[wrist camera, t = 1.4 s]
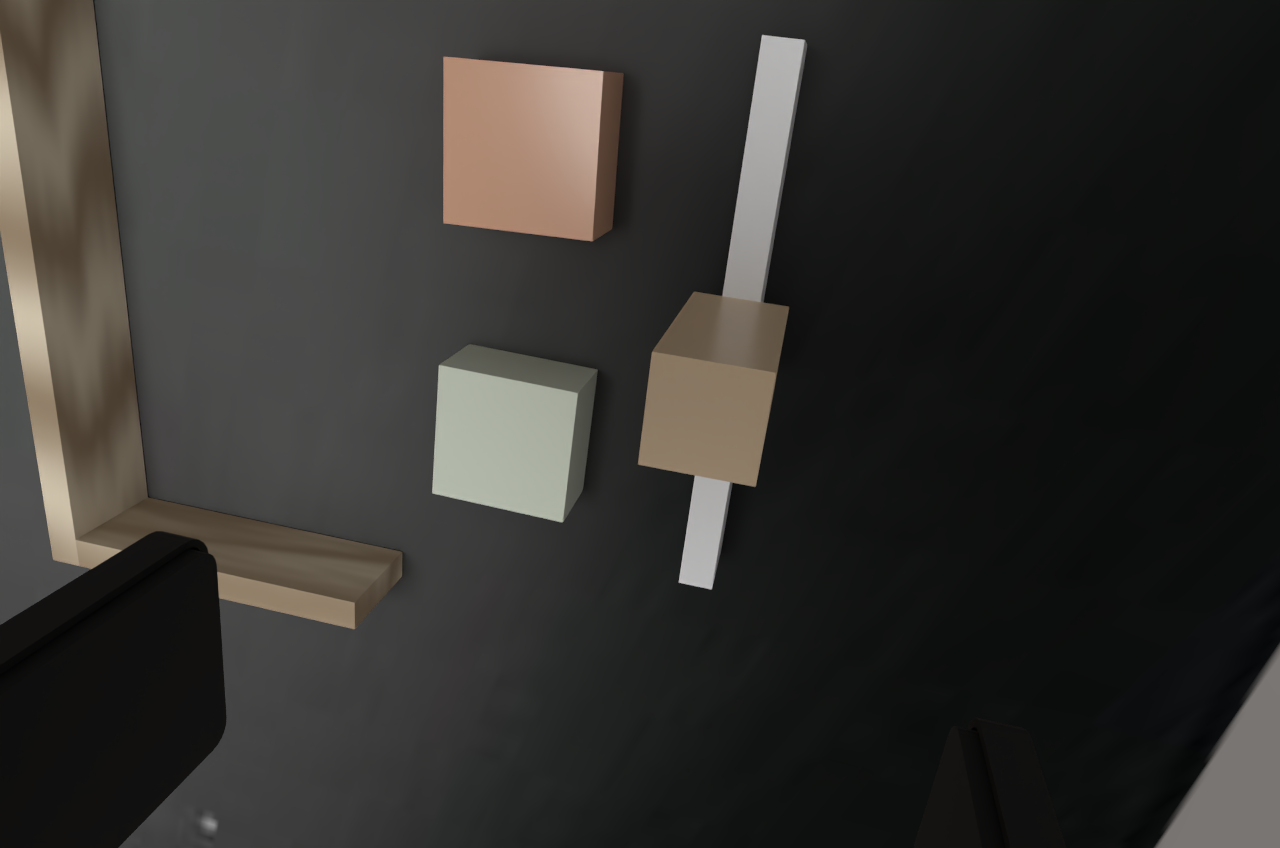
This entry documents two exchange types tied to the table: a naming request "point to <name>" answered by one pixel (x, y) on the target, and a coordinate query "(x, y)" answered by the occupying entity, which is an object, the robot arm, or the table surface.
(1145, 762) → the table surface
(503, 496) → the pale green square block
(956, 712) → the table surface
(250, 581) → the box
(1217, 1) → the table surface
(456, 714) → the table surface
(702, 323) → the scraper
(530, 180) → the terracotta tile
